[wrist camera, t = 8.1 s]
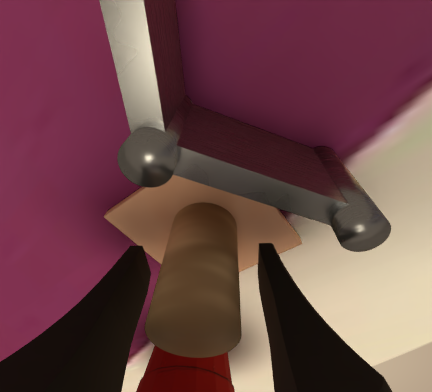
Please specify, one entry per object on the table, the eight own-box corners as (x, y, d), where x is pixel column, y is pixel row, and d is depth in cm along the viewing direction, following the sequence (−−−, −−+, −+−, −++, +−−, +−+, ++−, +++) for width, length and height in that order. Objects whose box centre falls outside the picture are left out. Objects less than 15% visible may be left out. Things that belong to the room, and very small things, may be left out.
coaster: (300, 237, 16) (302, 243, 15) (195, 285, 19) (194, 291, 18) (220, 132, 12) (220, 136, 12) (107, 211, 15) (103, 216, 15)
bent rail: (341, 165, 13) (397, 238, 9) (244, 216, 15) (251, 297, 11) (142, -205, 7) (12, -542, 3) (27, -39, 9) (-151, -87, 5)
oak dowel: (242, 207, 14) (250, 310, 9) (231, 255, 16) (232, 361, 11) (174, 198, 14) (143, 298, 9) (171, 247, 16) (145, 352, 11)
